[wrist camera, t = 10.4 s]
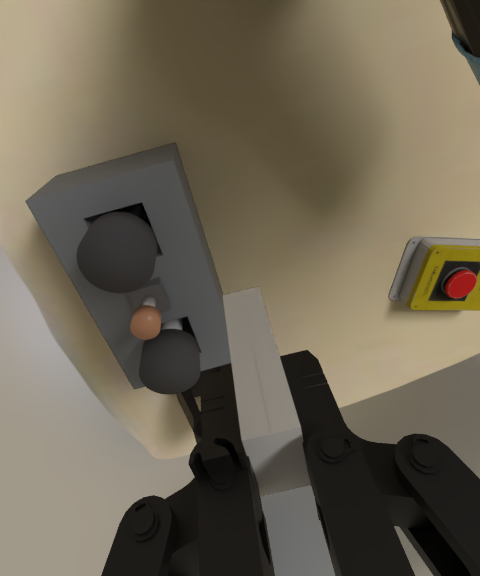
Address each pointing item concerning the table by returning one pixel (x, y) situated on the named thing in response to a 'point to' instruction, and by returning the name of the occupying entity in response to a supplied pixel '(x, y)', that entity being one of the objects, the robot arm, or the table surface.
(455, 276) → the emergency button
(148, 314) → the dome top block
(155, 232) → the mount
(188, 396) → the phone stand
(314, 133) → the table surface
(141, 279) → the knob
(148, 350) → the knob
